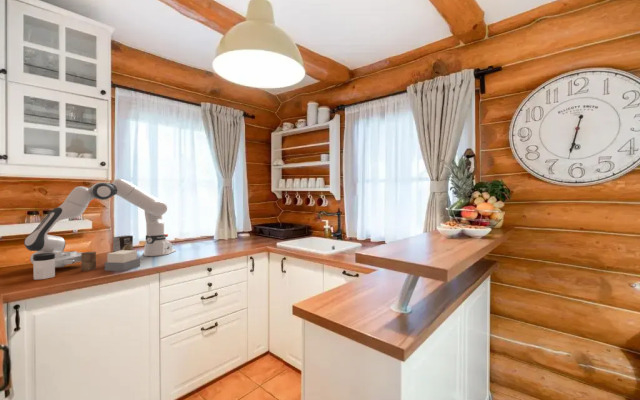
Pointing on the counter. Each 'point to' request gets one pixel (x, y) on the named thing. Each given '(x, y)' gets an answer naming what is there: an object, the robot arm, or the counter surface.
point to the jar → (44, 265)
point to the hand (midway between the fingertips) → (81, 260)
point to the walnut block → (88, 261)
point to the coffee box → (122, 243)
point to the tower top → (122, 256)
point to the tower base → (122, 265)
